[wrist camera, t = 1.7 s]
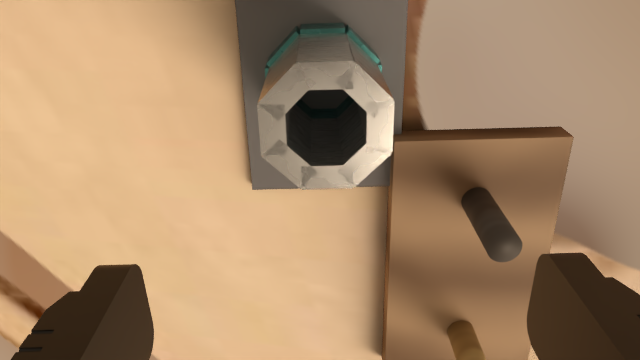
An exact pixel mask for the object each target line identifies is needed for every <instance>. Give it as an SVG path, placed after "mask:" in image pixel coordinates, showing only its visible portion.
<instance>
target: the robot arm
mask: <svg viewBox="0 0 640 360" xmlns="http://www.w3.org/2000/svg"><path fill="white" fill-rule="evenodd" d="M527 331H528V336H529V340H530V343H531V345H532V347H533V349H534V351H535V353H536V355H537V357H538V359H539V360H640V295H639V294H638V293H636V292H635V291H633V290H632V289H630V288H628V287H627V286H625V285H624V284H622V283H621V282H619V281H618V280H616V279H614V278H613V277H610V278H605V277H604V276H603V275H602V274H601V272H600V271H599V270H598V269H597V268H596V266H595V265H594V264H593V263H592V262H591V261H590V259H589V258H588V257H587V256H586V255H585V254H583V253H555V254H542V255H541V256H540V257H539V258H538V261H537V264H536V269H535V275H534V280H533V285H532V290H531V296H530V301H529V306H528V311H527ZM153 340H154V328H153V321H152V317H151V312H150V307H149V303H148V298H147V294H146V289H145V284H144V280H143V275H142V271H141V269H140V267H139V266H138V265H136V264H131V265H99V266H97V267H96V268H95V269H94V270H93V271H92V273H91V275H90V276H89V278H88V279H87V281H86V282H85V284H84V285H83V287H82V288H81V290H80V291H75V292H68V293H67V294H66V295H65V296H63V297H62V298H61V299H59V300H58V301H57V302H56V303H54V304H53V305H52V306H50V307H49V308H48V309H46V311H45V312H44V313H43V315H42V316H41V318H40V319H39V320H38V322H37V323H36V325H35V326H34V328H33V329H32V333H31V334H29V335H28V336H27V337H26V339H25V340H24V342H23V343H22V344H21V346H20V347H19V352H16V353H15V354H14V356H13V357H12V359H11V360H149V358H150V356H151V352H152V348H153Z"/></svg>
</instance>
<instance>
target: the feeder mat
mask: <svg viewBox="0 0 640 360" xmlns="http://www.w3.org/2000/svg"><path fill="white" fill-rule="evenodd" d="M235 5H236V16H237V27H238V38H239V49H240V59H241V70H242V81H243V92H244V103H245V113H246V124H247V135H248V146H249V157H250V167H251V178H252V189H253V190H259V189H297V188H299V187H297V186H296V185H295V184H294V183H293V182H291V181H290V180H289V179H288V178H287V177H285V176H284V175H283V174H282V173H281V172H279V171H278V170H277V169H276V168H275V167H273V166H272V165H271V164H270V163H269V162H267V161H266V160H265V159H264V158H263V157H262V156H261V148H260V135H259V123H258V111H257V103H258V100H259V97H260V94H261V91H262V88H263V85H264V82H265V66H266V63H267V60H268V58H269V56H270V55H271V54H272V53H273V52H274V50H275V49H276V48H277V47H278V46H279V45H280V44H281V43H282V42H283V40H284V39H285V38H286V37H287V36H288V35H289V34H290V33H291V32H292V30H293V29H294V28H295V27H296V26H297V27H298V28H300V27H301V24H314V23H344V26H345V27H346V26H347V25H349V26H350V27H351V28H352V29H353V30H354V31H355V32H356V33H357V34H358V35H359V36H360V37H361V38H362V39H363V40H364V41H365V42H366V43H367V44H368V45H369V46H370V47H371V48H372V49H373V50H374V51H375V52H376V53H377V55H378V57H379V59H380V62H381V64H382V75H383V77H384V80H385V82H386V84H387V86H388V88H389V90H390V92H391V94H392V97H393V99H394V101H395V104H394V129H393V135H395V134H401V133H402V113H403V92H404V71H405V51H406V30H407V9H408V0H235ZM348 96H349V95H348V94H347V93H346V92H345V91H344V90H343V89H333V90H308V91H307V92H306V93H305V94H304V95H303V96H302V97H301V98H300V99H301V100H302V101H303V102H305V103H306V104H307V105H308V106H309V107H310V108H311V109H332V108H337V107H338V106H339V105H340V104H341V103H342V102H343V101H344V100H345V99H346V98H347V97H348ZM390 168H391V155H390V156H389V157H388V158H386V159H385V160H384V161H383V162H382V163H381V164H380V165H379V166H378V167H377V168H375V169H374V170H373V171H372V172H371V173H370V174H369V175H368V176H367V177H366V178H365V179H363V180H362V181H361V182H360V183H359V184H358V185H357V186H356V187H373V186H390Z"/></svg>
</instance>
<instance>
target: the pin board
mask: <svg viewBox="0 0 640 360" xmlns="http://www.w3.org/2000/svg"><path fill="white" fill-rule="evenodd" d="M573 138H574V137H573V136H572V135H571V134H569V133H568V132H567V131H566V130H564V129H563V128H562V127H534V128H533V127H530V128H492V129H454V130H417V131H402V133H401V134H395V135H393V152H391V153H392V154H391V168H390V186H388V211H387V237H386V263H385V289H384V315H383V341H382V360H528V355H529V351H530V346H531V343H530V340H529V336H528V331H527V311H528V306H529V301H530V296H531V290H532V285H533V280H534V275H535V269H536V264H537V261H538V258H539V257H540V256H541V255H542V254H550V249H551V244H552V239H553V234H554V230H555V224H556V220H557V215H558V210H559V205H560V200H561V195H562V190H563V186H564V181H565V176H566V171H567V166H568V161H569V157H570V152H571V147H572V142H573Z"/></svg>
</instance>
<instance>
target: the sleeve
mask: <svg viewBox="0 0 640 360" xmlns="http://www.w3.org/2000/svg"><path fill="white" fill-rule="evenodd" d="M333 89H343V90H344V91H345V92H346V93H347V94H348V95H349V96H348V97H347V98H346V99H345V100H344V101H343V102H342V103H341V104H340V105H339V106H338V107H337V108H332V109H311V108H310V107H309V106H308V105H307V104H306V103H305V102H303V101H302V100H301V99H300V98H301V97H302V96H303V95H304V94H305V93H306V92H307V91H308V90H333ZM394 104H395V101H394V99H393V97H392V94H391V92H390V90H389V88H388V86H387V84H386V82H385V80H384V77H383V75H382V64H381V62H380V59H379V57H378V55H377V53H376V52H375V51H374V50H373V49H372V48H371V47H370V46H369V45H368V44H367V43H366V42H365V41H364V40H363V39H362V38H361V37H360V36H359V35H358V34H357V33H356V32H355V31H354V30H353V29H352V28H351V27H350V26H349V25H347V26H346V27H345V26H344V23H314V24H301V27H300V28H298V27H297V26H296V27H295V28H294V29H293V30H292V32H291V33H290V34H289V35H288V36H287V37H286V38H285V39H284V40H283V42H282V43H281V44H280V45H279V46H278V47H277V48H276V49H275V50H274V52H273V53H272V54H271V55H270V56H269V58H268V60H267V63H266V66H265V82H264V85H263V88H262V91H261V94H260V97H259V100H258V103H257V111H258V123H259V135H260V148H261V156H262V157H263V158H264V159H265V160H266V161H267V162H269V163H270V164H271V165H272V166H273V167H275V168H276V169H277V170H278V171H279V172H281V173H282V174H283V175H284V176H285V177H287V178H288V179H289V180H290V181H291V182H293V183H294V184H295V185H296V186H297V187H299V188H300V189H301V188H302V190H306V189H344V188H353V187H354V188H355V187H356V186H357V185H358V184H359V183H360V182H361V181H362V180H363V179H365V178H366V177H367V176H368V175H369V174H370V173H371V172H372V171H373V170H374V169H375V168H377V167H378V166H379V165H380V164H381V163H382V162H383V161H384V160H385V159H386V158H388V157H389V156H390V155H391V154H392V153H391V152H393V129H394Z"/></svg>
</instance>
